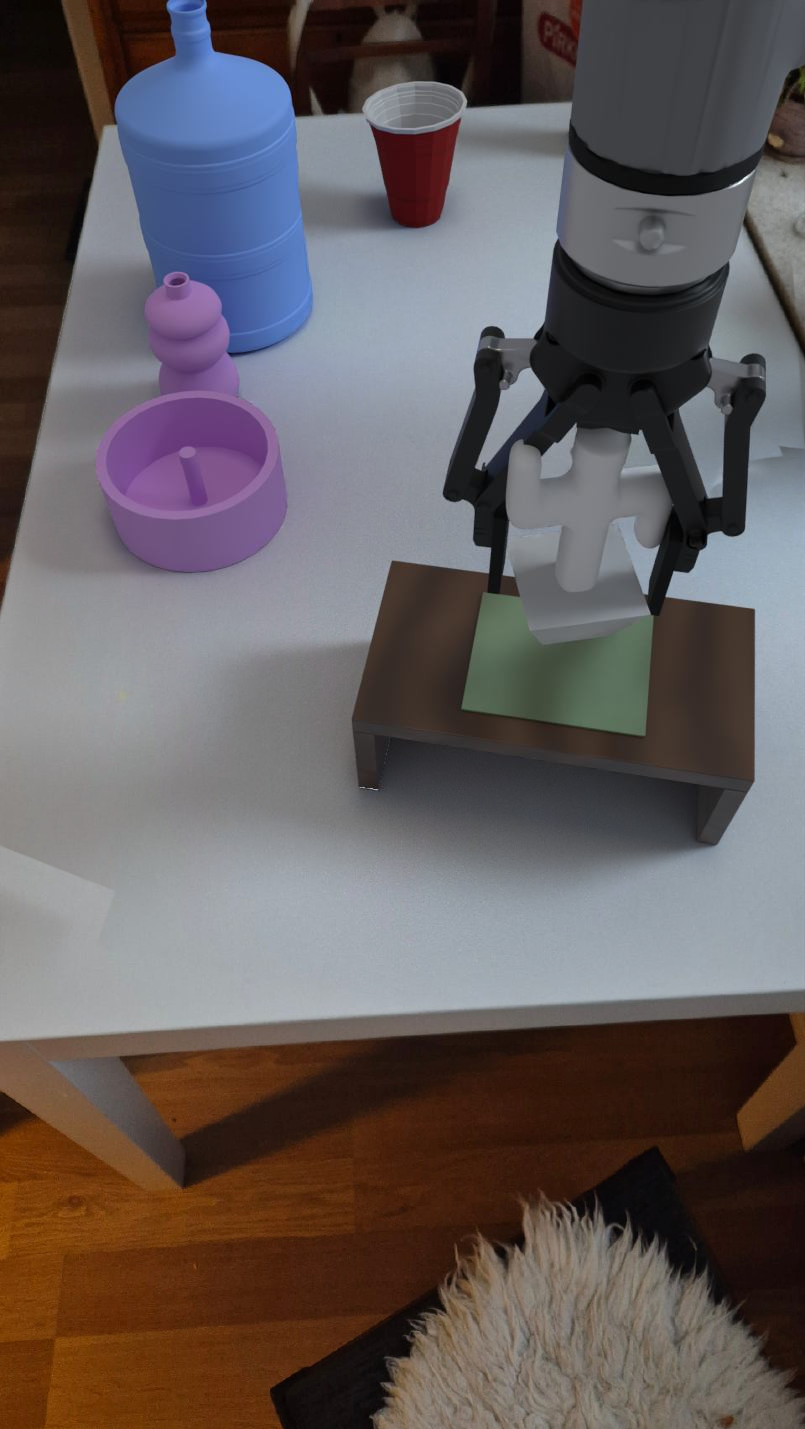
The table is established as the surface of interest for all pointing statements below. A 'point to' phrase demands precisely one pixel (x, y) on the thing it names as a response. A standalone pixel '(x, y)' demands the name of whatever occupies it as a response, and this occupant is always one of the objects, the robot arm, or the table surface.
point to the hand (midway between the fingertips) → (574, 587)
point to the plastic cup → (415, 146)
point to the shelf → (562, 687)
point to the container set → (192, 447)
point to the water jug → (219, 180)
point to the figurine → (582, 536)
